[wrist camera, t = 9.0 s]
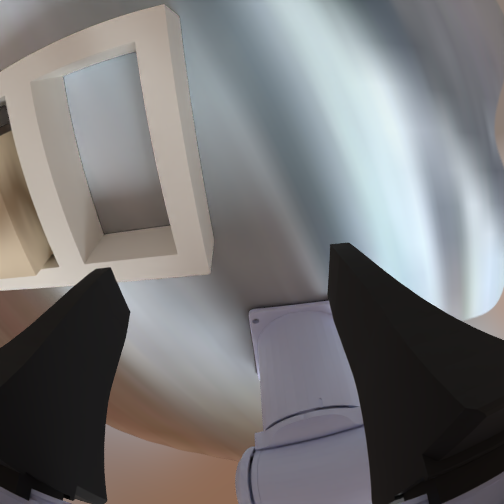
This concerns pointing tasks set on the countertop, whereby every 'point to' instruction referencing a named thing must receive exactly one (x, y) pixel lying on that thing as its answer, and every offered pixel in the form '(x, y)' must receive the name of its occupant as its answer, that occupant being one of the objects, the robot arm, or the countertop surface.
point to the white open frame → (70, 166)
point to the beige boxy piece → (18, 217)
